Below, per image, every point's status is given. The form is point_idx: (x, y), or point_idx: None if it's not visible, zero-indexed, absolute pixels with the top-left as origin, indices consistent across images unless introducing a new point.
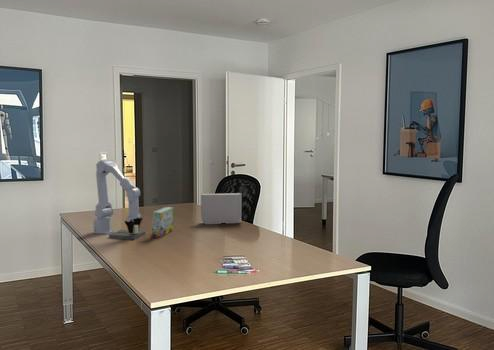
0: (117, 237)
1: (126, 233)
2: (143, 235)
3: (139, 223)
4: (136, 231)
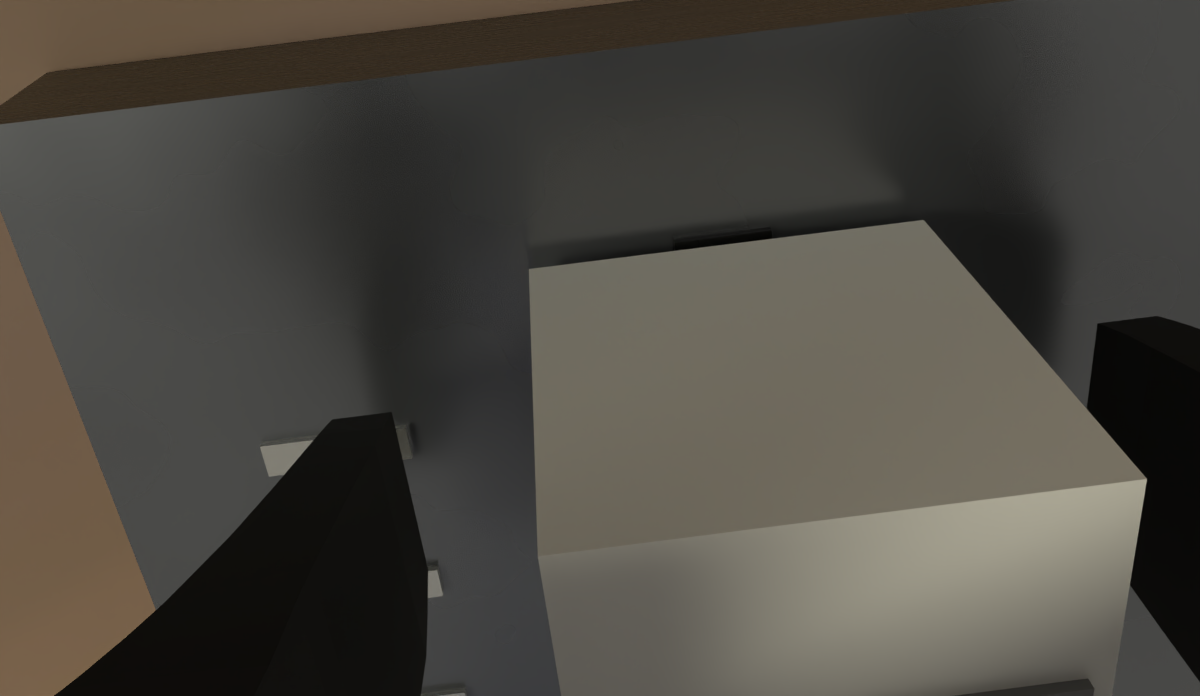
0: None
1: None
2: (285, 47)
3: (269, 668)
4: (816, 281)
